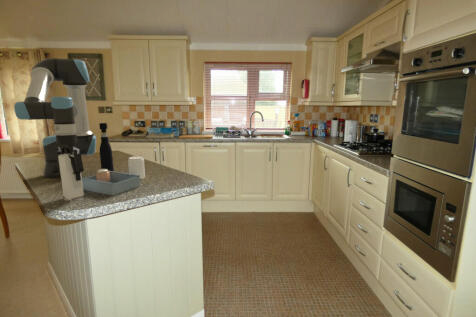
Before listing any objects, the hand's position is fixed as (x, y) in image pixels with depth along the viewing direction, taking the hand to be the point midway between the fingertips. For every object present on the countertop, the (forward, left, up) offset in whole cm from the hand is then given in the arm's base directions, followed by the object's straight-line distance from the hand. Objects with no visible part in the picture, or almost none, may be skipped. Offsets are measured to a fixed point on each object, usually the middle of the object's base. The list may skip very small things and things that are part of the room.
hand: (72, 186), depth 119 cm
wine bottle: (-20, +34, -5) cm, 40 cm away
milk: (0, 0, -5) cm, 5 cm away
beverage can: (+2, +35, -5) cm, 35 cm away
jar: (-2, +17, -4) cm, 18 cm away
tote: (+4, +16, -5) cm, 17 cm away
